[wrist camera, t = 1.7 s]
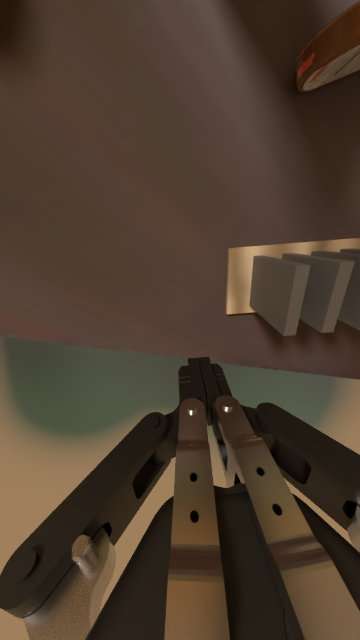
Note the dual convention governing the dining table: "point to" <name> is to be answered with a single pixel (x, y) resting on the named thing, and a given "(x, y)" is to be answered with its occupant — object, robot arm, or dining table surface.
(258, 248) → the board
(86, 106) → the dining table surface
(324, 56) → the tin
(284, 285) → the domino
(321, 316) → the domino
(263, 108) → the dining table surface
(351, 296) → the domino
